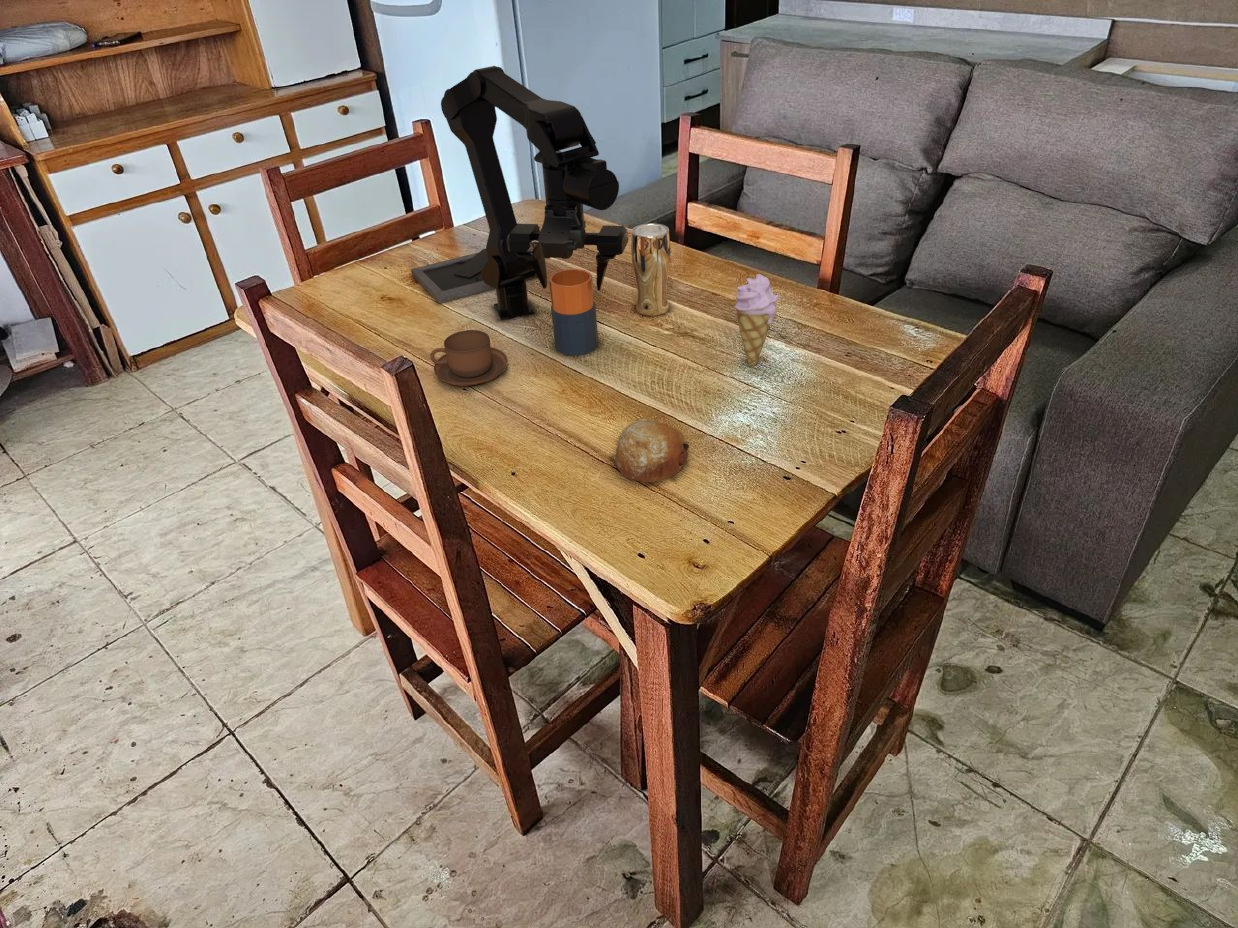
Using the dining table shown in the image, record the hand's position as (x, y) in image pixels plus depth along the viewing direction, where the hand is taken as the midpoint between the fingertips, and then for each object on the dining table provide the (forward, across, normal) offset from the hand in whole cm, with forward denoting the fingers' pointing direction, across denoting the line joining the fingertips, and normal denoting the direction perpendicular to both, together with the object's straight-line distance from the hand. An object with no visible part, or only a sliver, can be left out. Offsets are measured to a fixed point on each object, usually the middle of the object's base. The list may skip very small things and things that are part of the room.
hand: (572, 288), depth 137 cm
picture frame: (+11, -28, +27) cm, 40 cm away
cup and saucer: (+11, -15, -11) cm, 22 cm away
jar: (+11, 0, 0) cm, 11 cm away
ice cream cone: (+11, +31, -3) cm, 33 cm away
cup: (+3, 0, 0) cm, 3 cm away
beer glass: (+11, +11, +16) cm, 22 cm away
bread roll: (+11, +18, -32) cm, 38 cm away
